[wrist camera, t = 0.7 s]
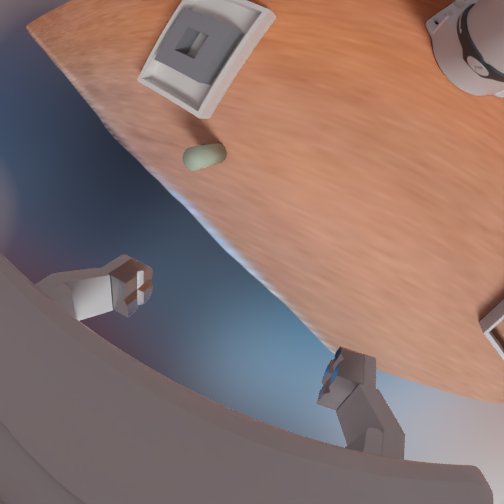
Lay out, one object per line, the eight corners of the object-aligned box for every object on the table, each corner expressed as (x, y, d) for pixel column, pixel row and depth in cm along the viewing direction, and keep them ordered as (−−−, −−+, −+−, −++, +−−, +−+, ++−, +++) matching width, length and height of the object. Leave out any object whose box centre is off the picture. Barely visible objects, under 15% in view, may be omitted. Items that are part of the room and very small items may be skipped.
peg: (214, 139, 52) (189, 142, 44) (230, 150, 52) (207, 155, 44) (204, 155, 54) (179, 162, 46) (220, 167, 54) (196, 175, 46)
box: (203, -10, 38) (189, -19, 33) (276, 17, 38) (267, 6, 33) (149, 81, 51) (132, 80, 46) (209, 118, 50) (195, 118, 46)
